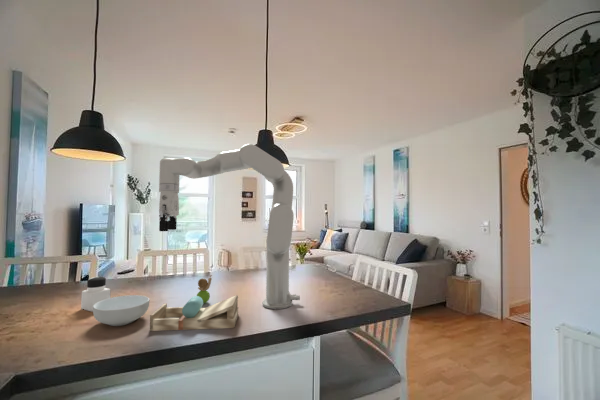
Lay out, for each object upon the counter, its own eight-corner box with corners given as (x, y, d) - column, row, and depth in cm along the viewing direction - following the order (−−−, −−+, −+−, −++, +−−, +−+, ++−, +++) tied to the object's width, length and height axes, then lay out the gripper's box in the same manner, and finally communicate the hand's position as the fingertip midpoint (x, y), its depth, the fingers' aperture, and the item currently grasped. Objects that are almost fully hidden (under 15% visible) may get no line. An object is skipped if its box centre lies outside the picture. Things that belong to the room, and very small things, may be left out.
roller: (203, 309, 104) (203, 295, 104) (197, 317, 96) (197, 302, 96) (188, 310, 103) (189, 296, 103) (181, 318, 95) (182, 303, 95)
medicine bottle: (110, 306, 116) (111, 276, 116) (91, 311, 109) (92, 280, 110) (99, 303, 119) (100, 275, 119) (80, 309, 112) (81, 278, 113)
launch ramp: (238, 314, 107) (238, 294, 107) (233, 327, 95) (234, 305, 95) (163, 317, 104) (164, 296, 104) (149, 330, 92) (150, 307, 92)
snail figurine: (207, 305, 117) (208, 276, 117) (193, 304, 118) (194, 275, 119) (214, 301, 122) (214, 273, 123) (200, 300, 123) (201, 273, 124)
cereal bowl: (106, 336, 88) (107, 313, 89) (83, 324, 97) (84, 303, 97) (158, 318, 103) (159, 299, 103) (134, 310, 111) (134, 292, 112)
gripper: (171, 187, 108) (170, 231, 108) (184, 190, 126) (184, 229, 125) (150, 186, 108) (149, 231, 107) (167, 190, 125) (166, 229, 124)
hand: (168, 230), depth 116 cm, fingers open, 9 cm apart
